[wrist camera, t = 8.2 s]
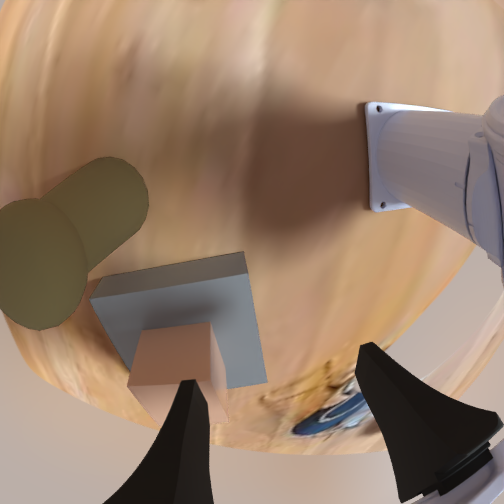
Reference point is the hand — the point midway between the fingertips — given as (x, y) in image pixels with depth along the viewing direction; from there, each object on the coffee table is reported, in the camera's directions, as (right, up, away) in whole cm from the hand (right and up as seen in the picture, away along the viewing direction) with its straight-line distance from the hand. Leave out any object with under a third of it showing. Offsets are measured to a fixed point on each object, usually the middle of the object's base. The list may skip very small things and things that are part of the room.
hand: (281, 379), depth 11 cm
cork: (-11, +9, +6) cm, 15 cm away
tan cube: (-6, -2, +8) cm, 10 cm away
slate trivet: (-7, 0, +10) cm, 12 cm away
